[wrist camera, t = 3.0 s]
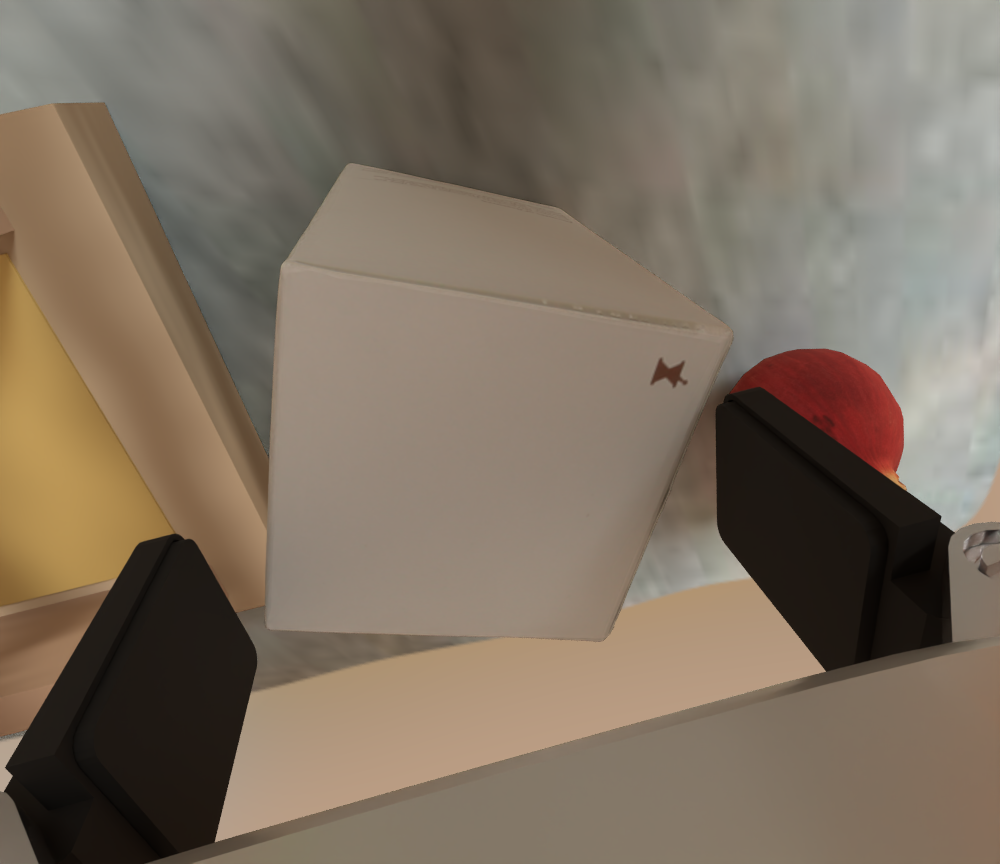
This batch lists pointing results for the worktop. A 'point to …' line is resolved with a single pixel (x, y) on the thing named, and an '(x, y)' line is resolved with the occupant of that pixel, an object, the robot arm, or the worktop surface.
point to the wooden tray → (103, 400)
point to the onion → (837, 401)
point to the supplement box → (470, 415)
